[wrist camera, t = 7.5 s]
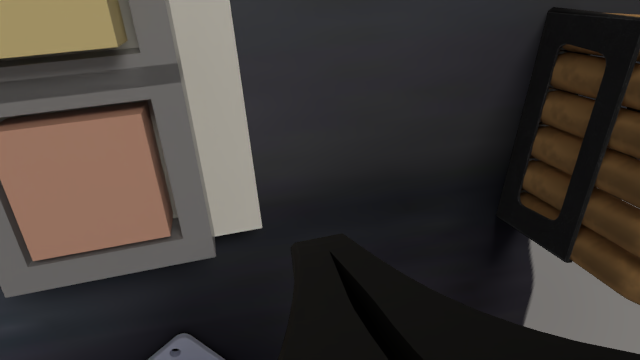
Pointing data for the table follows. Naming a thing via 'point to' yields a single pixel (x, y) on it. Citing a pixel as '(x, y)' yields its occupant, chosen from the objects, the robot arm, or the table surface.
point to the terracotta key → (85, 179)
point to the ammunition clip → (582, 147)
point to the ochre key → (59, 26)
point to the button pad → (169, 127)
